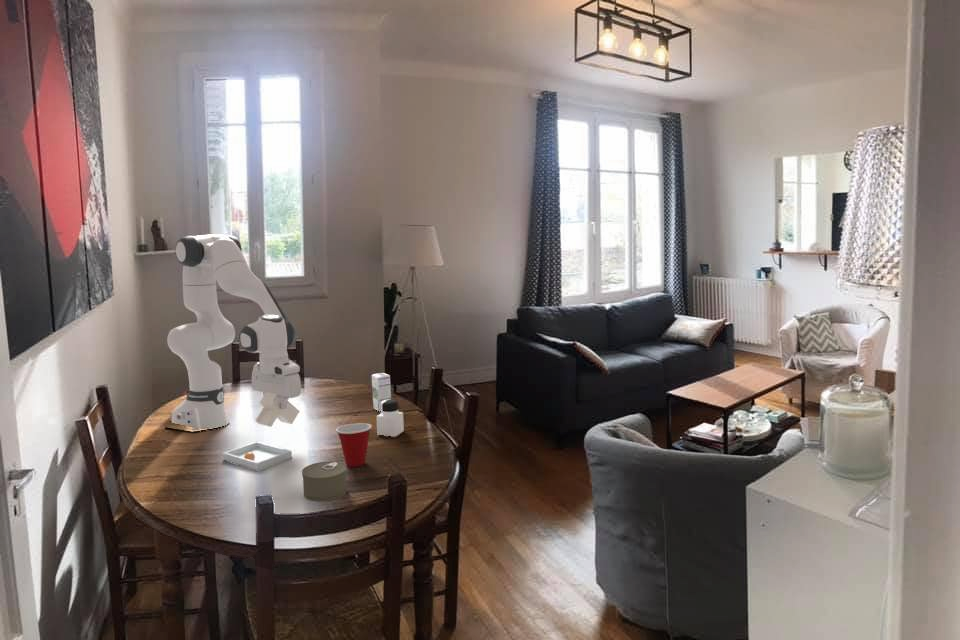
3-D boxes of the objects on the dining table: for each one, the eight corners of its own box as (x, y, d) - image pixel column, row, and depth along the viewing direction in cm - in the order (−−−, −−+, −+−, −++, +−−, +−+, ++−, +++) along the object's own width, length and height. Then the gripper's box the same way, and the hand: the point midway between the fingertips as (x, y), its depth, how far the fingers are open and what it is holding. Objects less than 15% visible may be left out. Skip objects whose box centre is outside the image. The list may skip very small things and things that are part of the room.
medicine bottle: (404, 431, 231) (403, 398, 229) (395, 437, 224) (394, 404, 222) (386, 429, 233) (385, 397, 231) (376, 435, 226) (375, 402, 224)
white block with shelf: (288, 408, 217) (266, 389, 209) (300, 411, 214) (278, 392, 205) (272, 434, 212) (249, 416, 204) (284, 437, 209) (261, 419, 201)
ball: (246, 465, 200) (244, 463, 197) (244, 455, 201) (241, 453, 198) (257, 461, 201) (254, 459, 198) (254, 451, 202) (252, 449, 199)
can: (293, 498, 175) (292, 474, 174) (319, 482, 186) (318, 459, 185) (331, 504, 171) (330, 480, 170) (355, 487, 182) (354, 464, 181)
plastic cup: (360, 454, 207) (358, 418, 205) (379, 463, 200) (378, 426, 198) (330, 463, 200) (328, 426, 198) (350, 473, 192) (348, 434, 190)
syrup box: (392, 410, 257) (391, 374, 255) (378, 412, 254) (377, 376, 252) (385, 407, 262) (384, 372, 259) (372, 409, 258) (371, 374, 256)
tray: (223, 460, 203) (222, 453, 203) (257, 448, 214) (257, 441, 214) (257, 471, 194) (257, 463, 194) (292, 458, 205) (291, 450, 204)
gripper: (245, 363, 210) (247, 404, 212) (287, 371, 199) (289, 414, 201) (261, 360, 215) (263, 400, 217) (303, 367, 204) (305, 409, 206)
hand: (276, 407), depth 209 cm, fingers closed on white block with shelf, 5 cm apart
